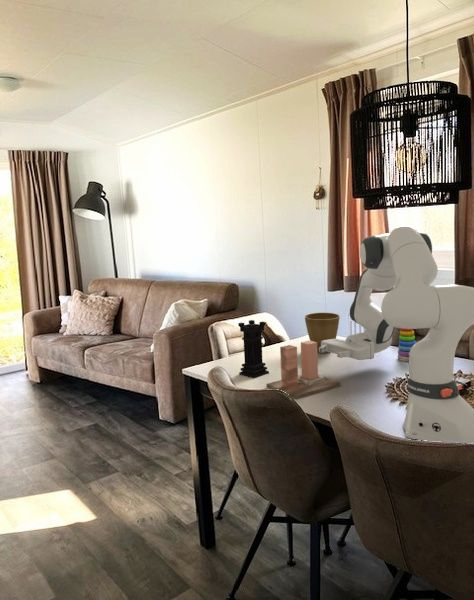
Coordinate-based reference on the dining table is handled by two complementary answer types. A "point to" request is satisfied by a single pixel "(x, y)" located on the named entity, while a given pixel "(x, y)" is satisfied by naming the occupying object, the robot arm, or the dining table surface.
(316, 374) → the loose pillar
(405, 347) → the stacking toy
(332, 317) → the plant pot
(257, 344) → the chess piece
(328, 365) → the dining table surface
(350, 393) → the dining table surface
